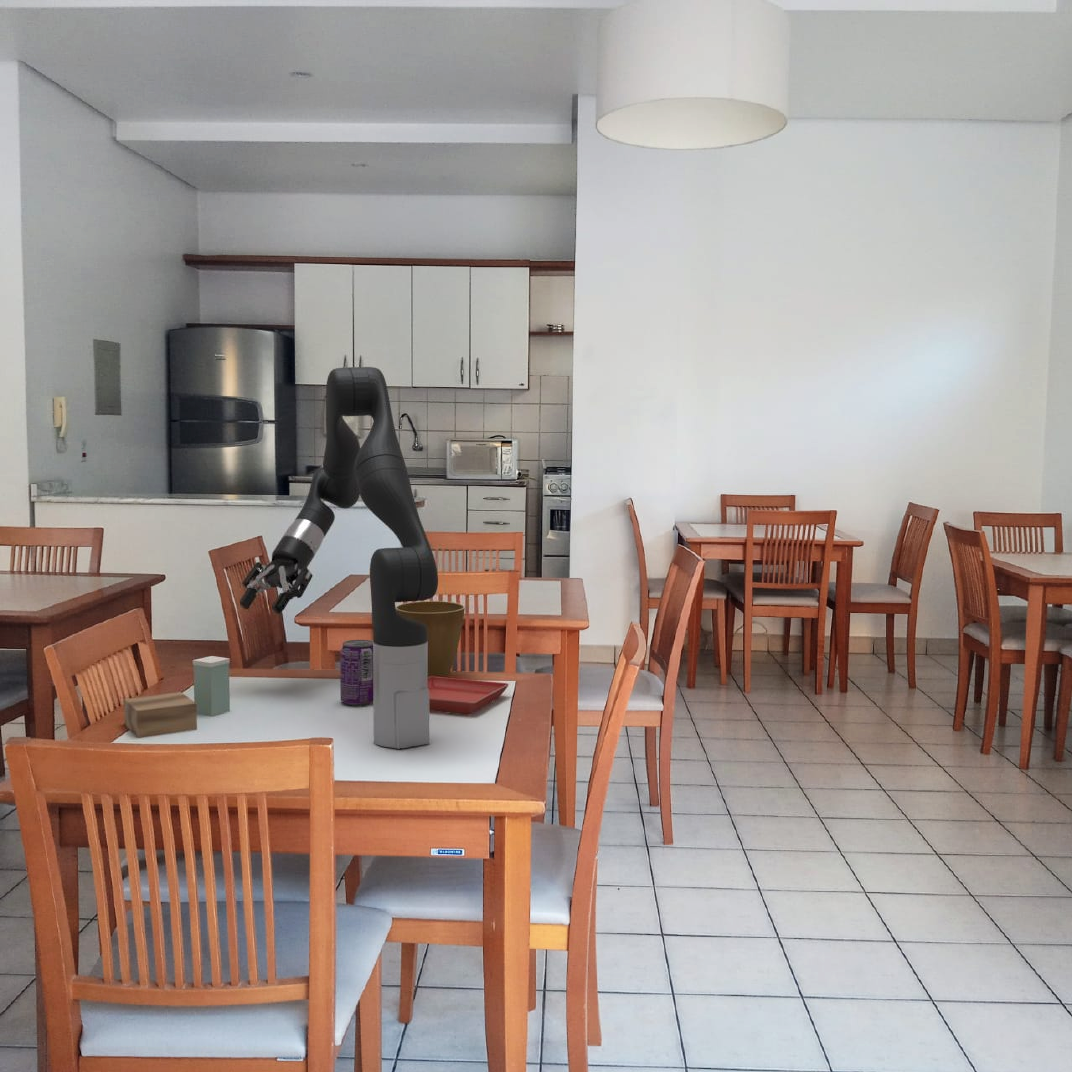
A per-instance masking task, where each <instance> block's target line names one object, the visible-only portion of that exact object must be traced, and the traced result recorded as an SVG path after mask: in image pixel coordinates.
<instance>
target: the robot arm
mask: <svg viewBox="0 0 1072 1072" xmlns="http://www.w3.org/2000/svg"><path fill="white" fill-rule="evenodd" d="M386 381H387V380H386V379H385V376H384V374H383V372H382V371H381V370H380V369H379V368H377V367H372V366H358V367H357V366H355V367H354V366H352V367H347V366H345V367H336V368H333V369H331V371H330V372H329V374H328V376H327V379H326V385H325V430H326V431H325V432H326V434H325V435H326V437H325V438H326V439H325V442H326V443H325V448H324V452H323V453H324V454H323V459H322V460H323V461H322V466H321V467H319V468H318V469H316V470H315V472H314V474H313V476H312V478H311V480H310V481H311V483H310V486H309V492H308V494H307V498H306V500H305V502H304V504H303V507H302V508H301V509H300V511H299V513H298V515H297V516H296V517H295V519H294V521H293V522H292V523H291V524H290V525H289V526H288V528H287V529H286V531H285V532H284V534H283V535H282V537H281V539H280V540H279V541H278V544H277V545H276V546H275V548H274V550H273V551H272V553H271V560H270V562H269V563H268V564H267V565H263V564H262V563H261V562H260V561H258V562H255V564H254V565H253V567H252V568H251V570H250V571H249V572H248V573H247V575H246V577H245V578H244V580H243V581H242V582H241V584H242V586H243V587H244V588H245V589H246V590H245V592H244V594H243V595H242V596H241V598H240V600H239V605H240V606H241V607H242V608H243V609H244V610H249V608H250V607H251V606H252V604H253V603H254V601H255V599H256V598H257V595H259V594H260V593H262V592H263V591H267V590H269V589H270V588H278V589H281V590H282V592H280V593H279V594H278V596H277V598H276V600H275V601H274V603H273V605H272V607H271V609H272V611H273V612H274V613H275V614H278V615H279V614H281V613H282V612H283V611H284V610H285V609H286V608H287V605H288V604H289V602H290V600H291V601H292V600H293V599H294V598H297V599H299V598H301V597H303V595H304V593H305V591H306V589H307V587H308V586H309V583H310V582H311V580H312V578H313V576H314V575H313V573H312V572H311V571H310V569H309V568H308V567H309V566H310V564H311V562H312V560H313V559H314V558H315V556H316V554H317V552H318V551H319V549H320V548H321V545H322V543H323V541H324V539H325V537H326V536H327V534H328V532H329V530H330V529H331V527H332V525H333V524H334V521H335V519H336V518H335V517H336V515H335V512H334V511H333V510H332V509H331V507H330V506H328V504H326V503H325V502H327V503H330V504H331V505H333V506H336V507H338V508H341V509H350V508H352V507H353V506H354V505H355V504H357V502H358V501H359V498H361V500H362V502H363V504H364V505H365V506H366V508H368V510H370V511H371V513H372V514H374V516H376V518H377V519H378V520H380V521H381V522H382V523H383V524H384V525H385V526H387V528H388V529H389V530H390V531H391V532H392V533H393V534H394V535H395V536H396V538H397V539H398V541H399V543H400V545H401V546H402V547H384V548H378V549H376V550H375V551H374V552H373V554H372V555H371V558H370V564H369V585H370V586H369V587H370V598H371V602H370V603H371V623H372V624H371V625H372V641H373V702H372V703H373V707H372V708H373V711H372V712H373V714H372V715H373V716H372V717H373V718H372V719H373V743H374V744H375V745H378V746H381V747H384V748H385V747H386V748H393V749H396V748H402V749H406V748H408V749H409V748H412V746H413V747H418V746H422V745H427V744H428V745H429V744H430V711H429V689H428V630H427V627H426V625H425V624H423V623H421V622H418V621H415V620H411V619H408V618H405V617H403V616H401V615H400V614H398V613H397V611H396V603H410V602H420V601H429V600H430V599H432V598H433V597H435V595H436V594H437V591H438V587H439V573H438V568H437V563H436V559H435V556H434V552H433V550H432V548H431V545H430V542H429V539H428V537H427V534H426V531H425V529H424V527H423V524H422V521H421V519H420V515H419V513H418V509H417V506H416V501H415V498H414V494H413V489H412V485H411V481H410V477H409V476H410V475H409V473H408V469H407V466H406V465H407V464H406V463H405V462H406V461H405V459H404V456H403V453H402V449H401V446H400V443H399V439H398V436H397V432H396V428H395V423H394V418H393V412H392V407H391V402H390V396H389V390H388V385H387V382H386ZM364 416H365V417H366V416H367V417H368V416H370V417H371V418H372V420H373V422H372V426H371V428H370V430H369V432H368V435H367V437H366V438H365V440H364V442H363V443H362V445H361V444H360V442H359V439H358V436H357V435H356V433H355V432H354V431H353V430H352V428H351V427H350V426H349V425H348V424H347V422H346V421H345V419H344V417H364ZM322 500H323V501H325V502H323V501H322ZM263 580H265V582H264V581H263ZM258 585H259V586H258ZM257 586H258V587H257Z"/></svg>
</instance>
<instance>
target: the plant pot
mask: <svg viewBox="0 0 1072 1072" xmlns="http://www.w3.org/2000/svg"><path fill="white" fill-rule="evenodd" d="M395 607H396V611H397V613H398V614H400V615H401V616H403V617H405V618H408V619H411V620H415V621H418V622H421V623H423V624H425V625H426V627H427V630H428V677H444V678H449V676H450V673H451V670H452V667H453V665H454V662H455V660H456V659H455V658H456V655H457V652H458V647H459V643H460V638H461V634H462V628H463V623H464V616H465V611H466V609H465V608H466V606H465V605H464V604H462V603H458V602H453V601H443V600H423V601H411V602H403V603H400V604H398V605H395Z"/></svg>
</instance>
